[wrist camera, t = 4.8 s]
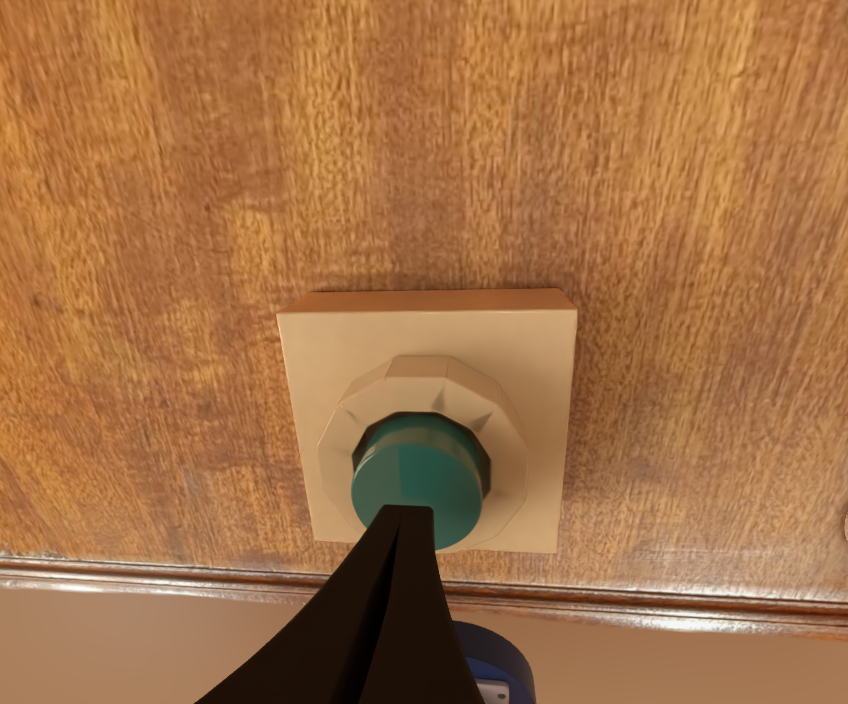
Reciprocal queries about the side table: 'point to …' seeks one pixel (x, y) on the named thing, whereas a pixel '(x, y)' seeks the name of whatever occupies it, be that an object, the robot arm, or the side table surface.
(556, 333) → the push button box
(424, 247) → the side table surface
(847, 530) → the supplement bottle
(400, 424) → the teal button
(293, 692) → the robot arm
